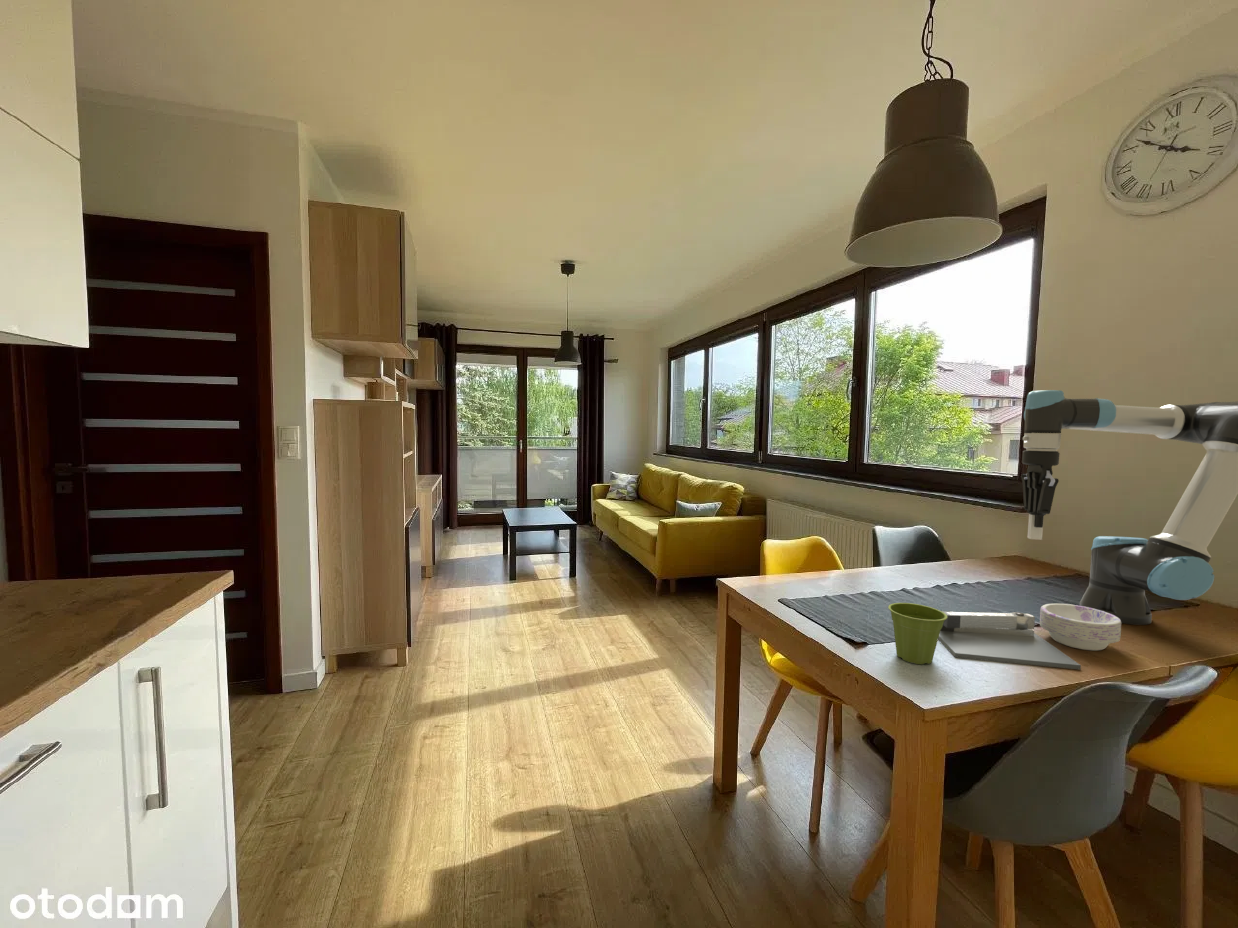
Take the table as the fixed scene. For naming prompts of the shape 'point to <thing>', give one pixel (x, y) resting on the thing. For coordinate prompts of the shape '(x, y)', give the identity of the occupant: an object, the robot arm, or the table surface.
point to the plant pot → (916, 631)
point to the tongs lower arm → (992, 631)
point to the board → (1005, 649)
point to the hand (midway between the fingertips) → (1034, 538)
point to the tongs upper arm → (989, 620)
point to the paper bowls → (1080, 626)
